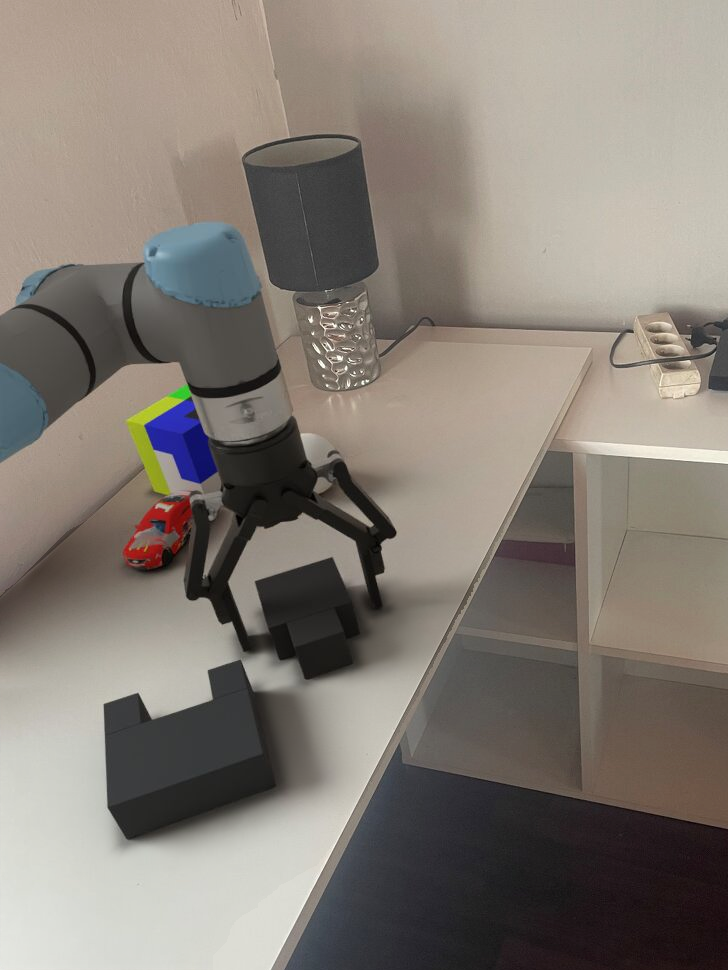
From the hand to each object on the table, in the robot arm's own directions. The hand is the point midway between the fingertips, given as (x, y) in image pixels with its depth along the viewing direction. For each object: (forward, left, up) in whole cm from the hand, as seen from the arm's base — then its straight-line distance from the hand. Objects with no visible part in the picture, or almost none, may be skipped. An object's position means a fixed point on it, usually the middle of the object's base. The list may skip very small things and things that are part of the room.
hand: (311, 621), depth 85 cm
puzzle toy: (-35, -6, 0) cm, 36 cm away
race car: (-23, -12, 0) cm, 26 cm away
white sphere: (-24, +7, 0) cm, 25 cm away
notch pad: (+13, -13, 0) cm, 18 cm away
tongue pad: (+2, 0, 0) cm, 2 cm away
